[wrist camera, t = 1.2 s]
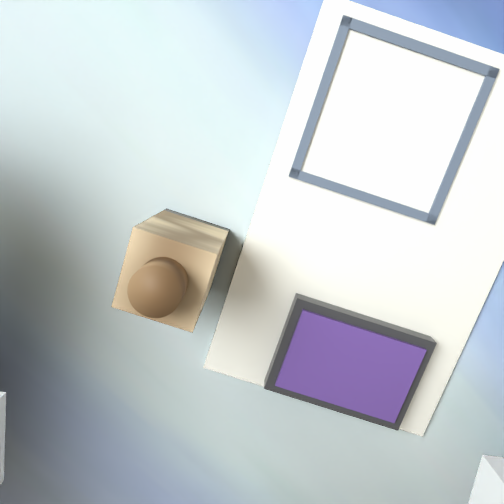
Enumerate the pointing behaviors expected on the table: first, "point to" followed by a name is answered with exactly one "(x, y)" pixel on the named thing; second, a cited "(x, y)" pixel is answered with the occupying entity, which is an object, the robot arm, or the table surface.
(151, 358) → the table surface
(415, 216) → the sheet
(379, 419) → the ink pad
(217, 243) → the stamp
